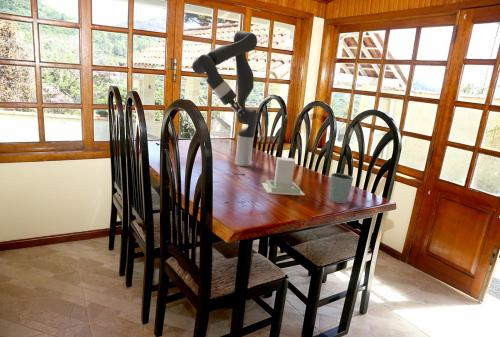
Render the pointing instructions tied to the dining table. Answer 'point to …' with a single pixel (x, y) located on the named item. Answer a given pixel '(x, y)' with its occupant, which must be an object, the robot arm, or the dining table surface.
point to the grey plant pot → (340, 187)
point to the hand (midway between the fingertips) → (245, 119)
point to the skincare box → (284, 172)
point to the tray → (281, 189)
